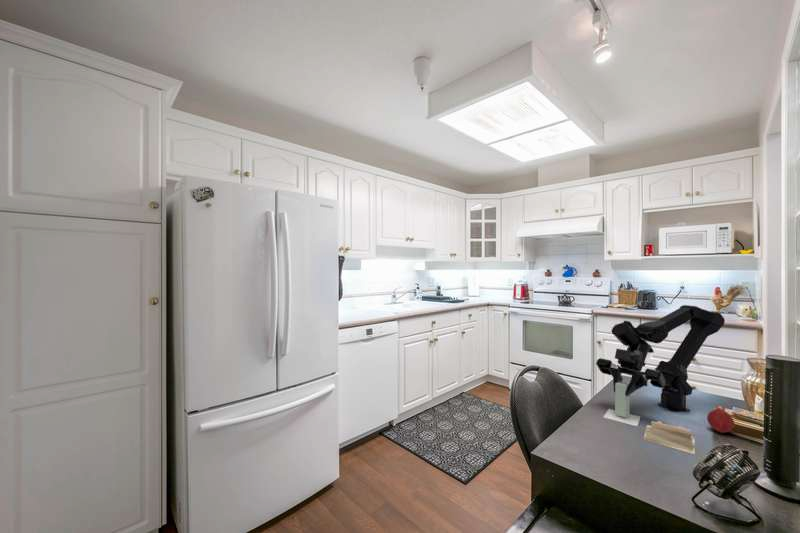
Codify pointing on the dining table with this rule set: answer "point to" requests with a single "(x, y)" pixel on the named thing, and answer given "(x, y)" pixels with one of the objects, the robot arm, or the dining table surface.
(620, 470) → the dining table surface
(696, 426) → the dining table surface
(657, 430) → the offcut rack
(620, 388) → the pale green rectangular block
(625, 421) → the mat
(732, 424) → the onion
